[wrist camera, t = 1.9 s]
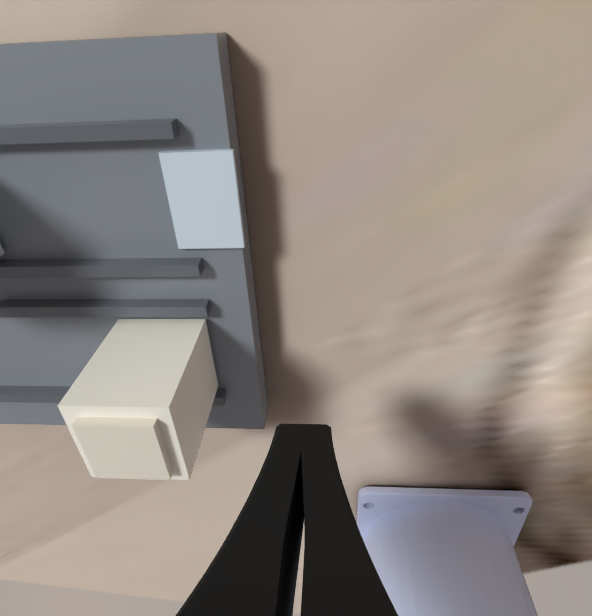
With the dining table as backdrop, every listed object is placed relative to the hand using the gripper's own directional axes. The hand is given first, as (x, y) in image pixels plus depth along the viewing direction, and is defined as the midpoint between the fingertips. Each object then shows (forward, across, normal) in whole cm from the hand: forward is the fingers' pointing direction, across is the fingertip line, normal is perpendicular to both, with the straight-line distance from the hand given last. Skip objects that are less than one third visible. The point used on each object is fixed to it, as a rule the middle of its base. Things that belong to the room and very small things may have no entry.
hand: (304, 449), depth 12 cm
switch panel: (+6, +8, -3) cm, 10 cm away
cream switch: (+4, +5, 0) cm, 6 cm away
